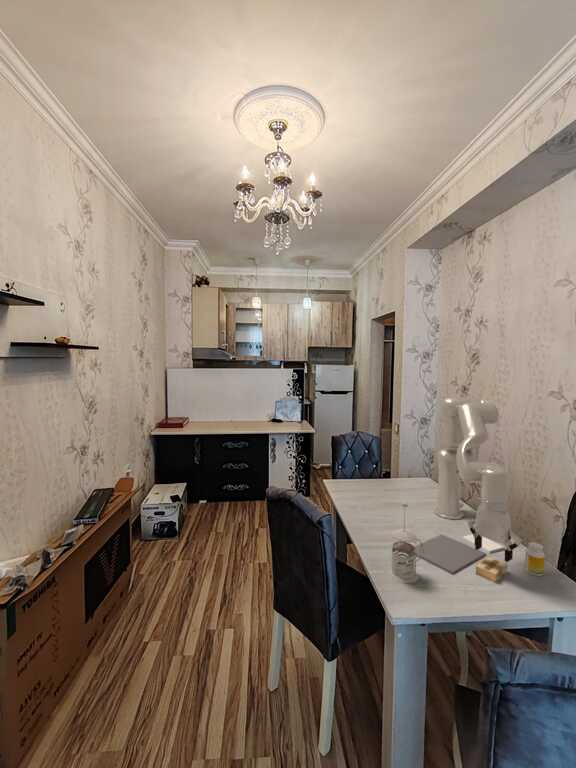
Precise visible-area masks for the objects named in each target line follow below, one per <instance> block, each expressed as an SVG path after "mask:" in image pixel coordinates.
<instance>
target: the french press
mask: <svg viewBox="0 0 576 768" xmlns="http://www.w3.org/2000/svg"><path fill="white" fill-rule="evenodd" d="M408 506H409V505H408V503H407V502H406V501H404V502H402V503H401V507H404V510H403V511H404V512H403V514H404V515H403V528H398V529H395V530H393V531H391V536H392V537H393V539H395V540H396V542H394V543H393V544H392V548H391V567H390V568H389V569H388V575H389V577H390V578H391V579H393V580H395V581H396V582H400V583H403V584H412V583H416V582H417V581H418V580H419V574H418V573H417V562H418V561H419V560H421V558H422V556H423V554H424V546H423V544H422V543H423V542H422V541H421V540H420V539H419V538H418V536H417V534H416V533H414V532H413V531H411V530H409V529H406V528H405V526H406V525H405V522H406V516H405V515H406V508H407V507H408ZM417 541H418V542H419V544H422V545H421V551H422V546H423V554H422V556H421V558H419V557H418V556H419V555H420V554H419V555H418V556H416V552H415V555H414V550H415V545H413V544H412V542H414V543H415V544H417ZM410 542H411V543H410ZM421 551H420V553H421ZM417 558H418V559H417Z"/></svg>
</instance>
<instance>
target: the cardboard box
mask: <svg viewBox="0 0 576 768" xmlns="http://www.w3.org/2000/svg"><path fill="white" fill-rule="evenodd" d="M507 572H508V563H507V562H504V561H501V560H499V559H496V558H493V557H491V556H487V557H486V558H485V559H483V560H482V561H481V562H479V563H478V564H477V565H476V566H475V575H477V576H479V577H481V578H483V579H486V580H488V581H489V582H492V583H496V582H497V581H499V579H501V578H502V577H503V576H504V575H505V574H507Z"/></svg>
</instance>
